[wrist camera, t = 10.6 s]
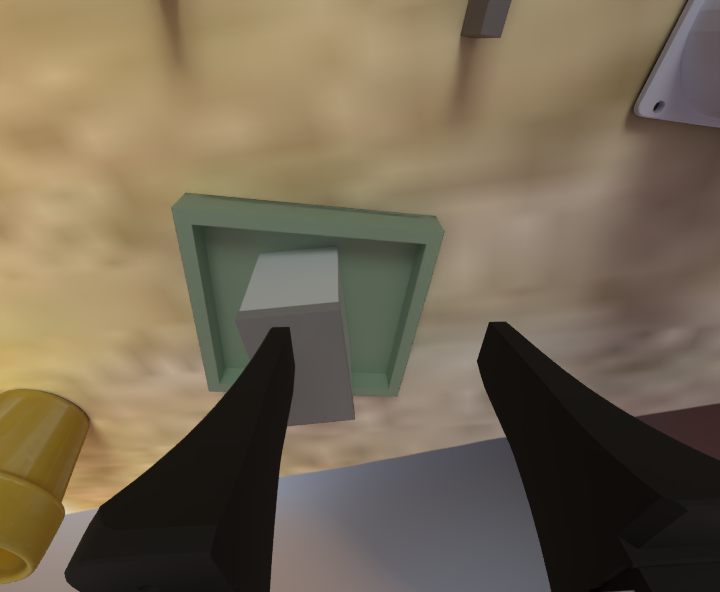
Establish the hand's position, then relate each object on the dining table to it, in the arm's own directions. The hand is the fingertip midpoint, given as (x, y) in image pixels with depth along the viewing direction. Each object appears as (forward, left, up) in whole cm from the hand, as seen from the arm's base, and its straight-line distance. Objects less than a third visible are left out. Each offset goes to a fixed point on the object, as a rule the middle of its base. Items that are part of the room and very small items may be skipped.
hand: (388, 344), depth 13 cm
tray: (+3, +5, -9) cm, 11 cm away
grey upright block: (+3, +5, -9) cm, 11 cm away
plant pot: (+24, +18, -10) cm, 32 cm away
